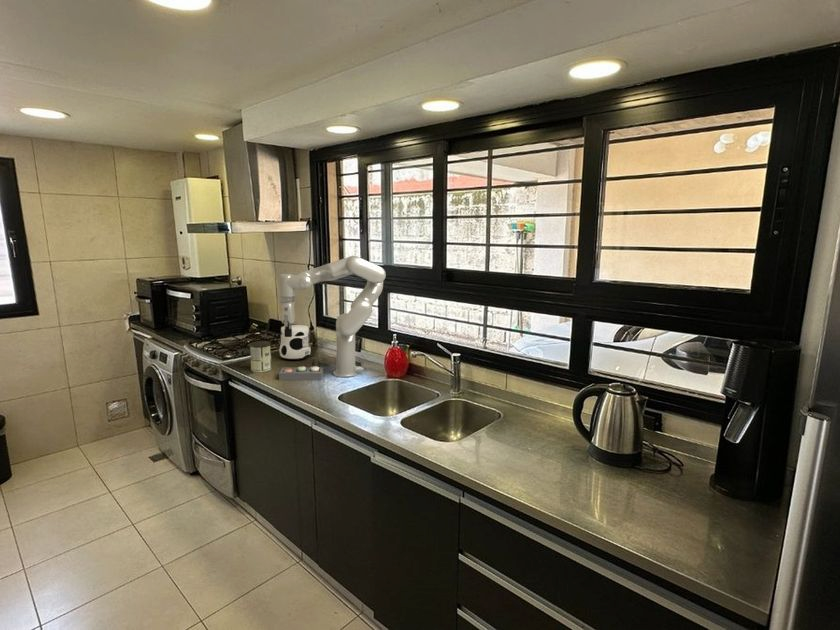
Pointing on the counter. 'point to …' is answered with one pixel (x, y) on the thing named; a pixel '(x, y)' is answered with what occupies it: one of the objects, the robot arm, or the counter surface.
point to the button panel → (300, 374)
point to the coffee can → (260, 356)
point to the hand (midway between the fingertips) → (288, 336)
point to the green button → (301, 369)
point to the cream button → (315, 369)
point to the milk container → (295, 343)
